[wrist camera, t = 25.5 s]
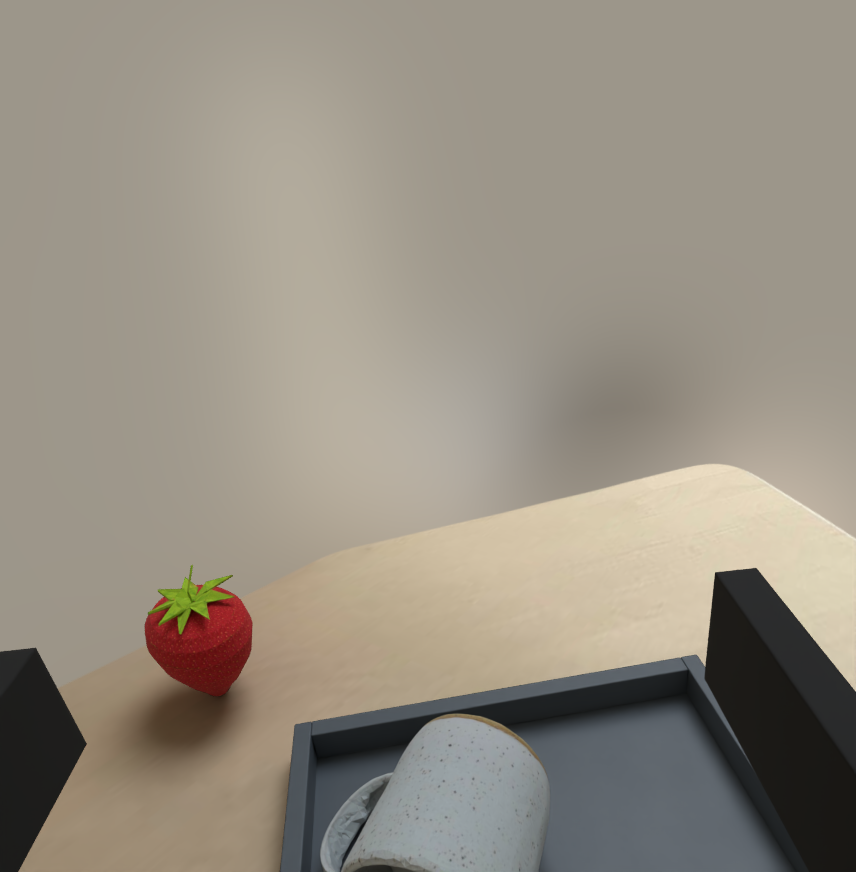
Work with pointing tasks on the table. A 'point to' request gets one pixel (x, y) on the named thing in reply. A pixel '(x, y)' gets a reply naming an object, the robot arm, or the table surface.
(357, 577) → the table surface
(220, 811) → the table surface
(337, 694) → the table surface
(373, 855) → the ceramic mug
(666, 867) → the shallow grey tray
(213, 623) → the strawberry
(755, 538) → the table surface
